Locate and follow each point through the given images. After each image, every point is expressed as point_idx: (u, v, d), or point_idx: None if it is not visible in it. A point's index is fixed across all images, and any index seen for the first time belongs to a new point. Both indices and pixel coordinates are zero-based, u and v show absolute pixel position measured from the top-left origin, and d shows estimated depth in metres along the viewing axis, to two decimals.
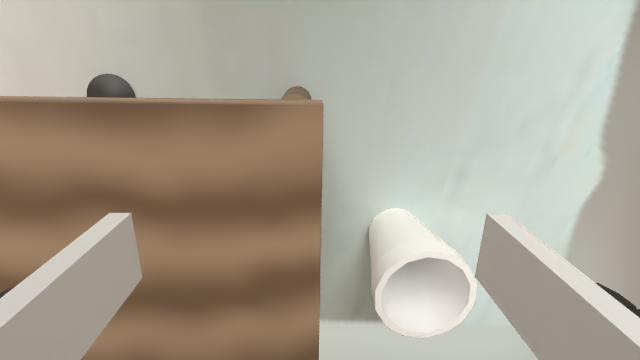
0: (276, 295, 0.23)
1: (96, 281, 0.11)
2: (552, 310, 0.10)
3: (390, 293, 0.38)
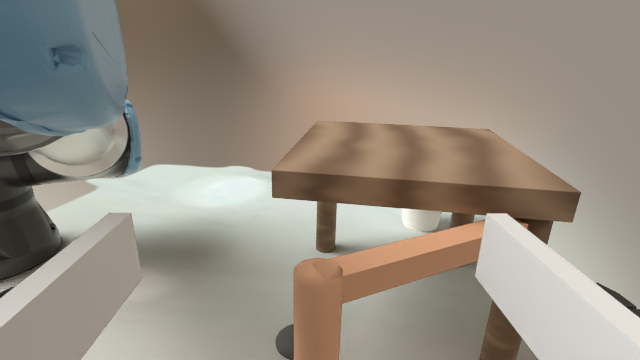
0: (405, 128, 0.48)
1: (96, 281, 0.11)
2: (552, 310, 0.10)
3: None
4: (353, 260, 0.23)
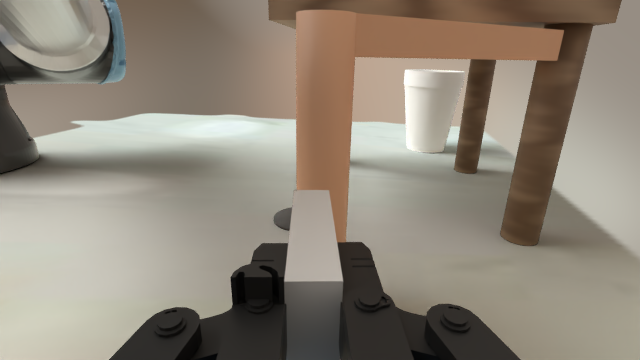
0: None
1: None
2: None
3: None
4: None
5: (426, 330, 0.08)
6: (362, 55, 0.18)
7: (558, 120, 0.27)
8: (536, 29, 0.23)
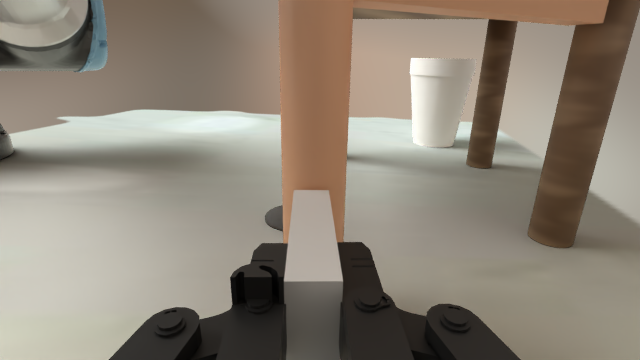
0: None
1: None
2: None
3: None
4: None
5: (426, 330, 0.08)
6: None
7: (603, 97, 0.22)
8: None
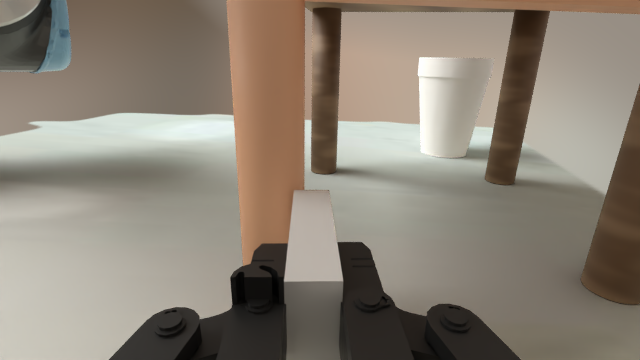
0: None
1: None
2: None
3: None
4: None
5: (426, 330, 0.08)
6: None
7: None
8: None
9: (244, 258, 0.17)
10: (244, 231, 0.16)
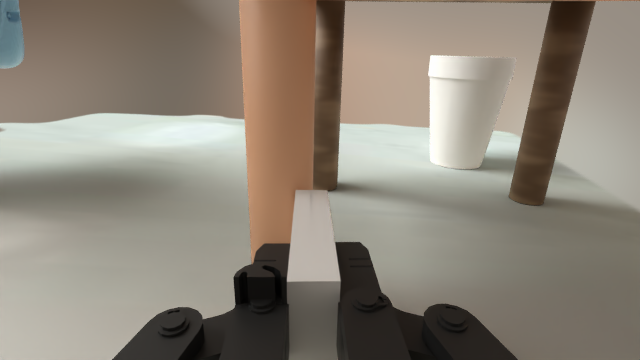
0: None
1: None
2: None
3: None
4: None
5: (423, 330, 0.08)
6: None
7: None
8: None
9: (251, 250, 0.17)
10: (250, 224, 0.17)
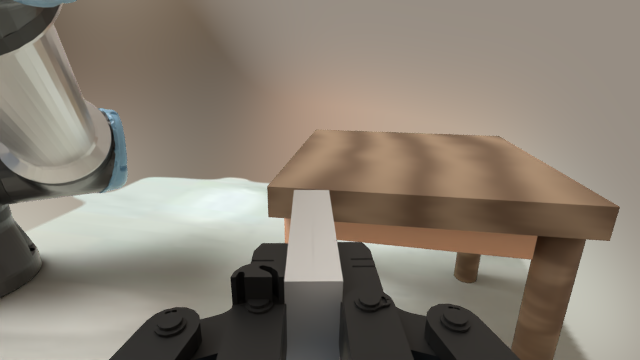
0: (410, 137, 0.45)
1: None
2: None
3: None
4: None
5: (426, 330, 0.08)
6: None
7: (556, 315, 0.27)
8: None
9: None
10: None
